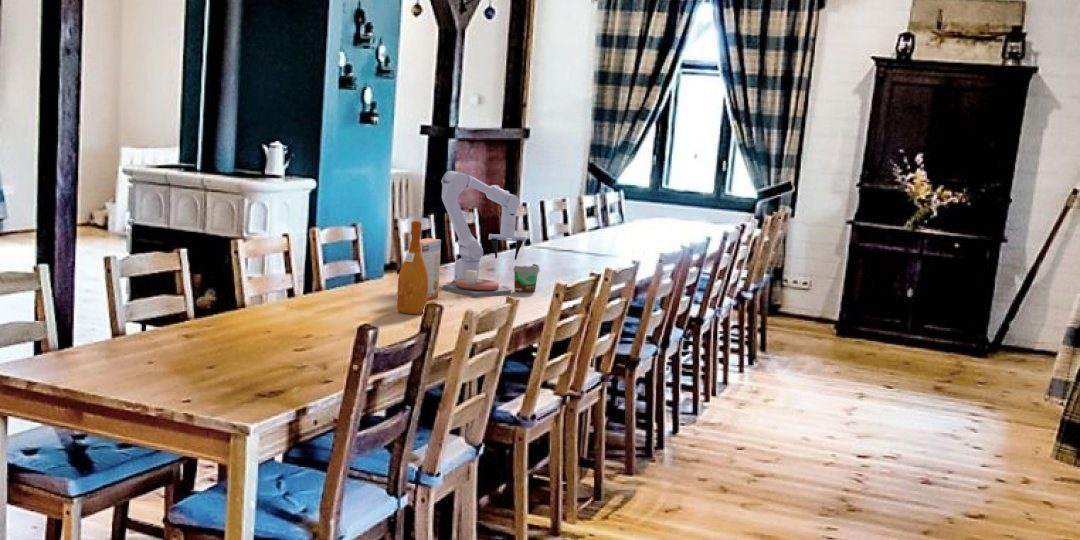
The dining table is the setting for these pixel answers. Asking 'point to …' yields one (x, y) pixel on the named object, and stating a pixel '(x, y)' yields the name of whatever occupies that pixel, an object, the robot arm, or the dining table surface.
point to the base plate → (476, 291)
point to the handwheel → (476, 282)
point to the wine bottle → (413, 277)
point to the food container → (525, 278)
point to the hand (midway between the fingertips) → (505, 258)
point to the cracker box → (431, 264)
